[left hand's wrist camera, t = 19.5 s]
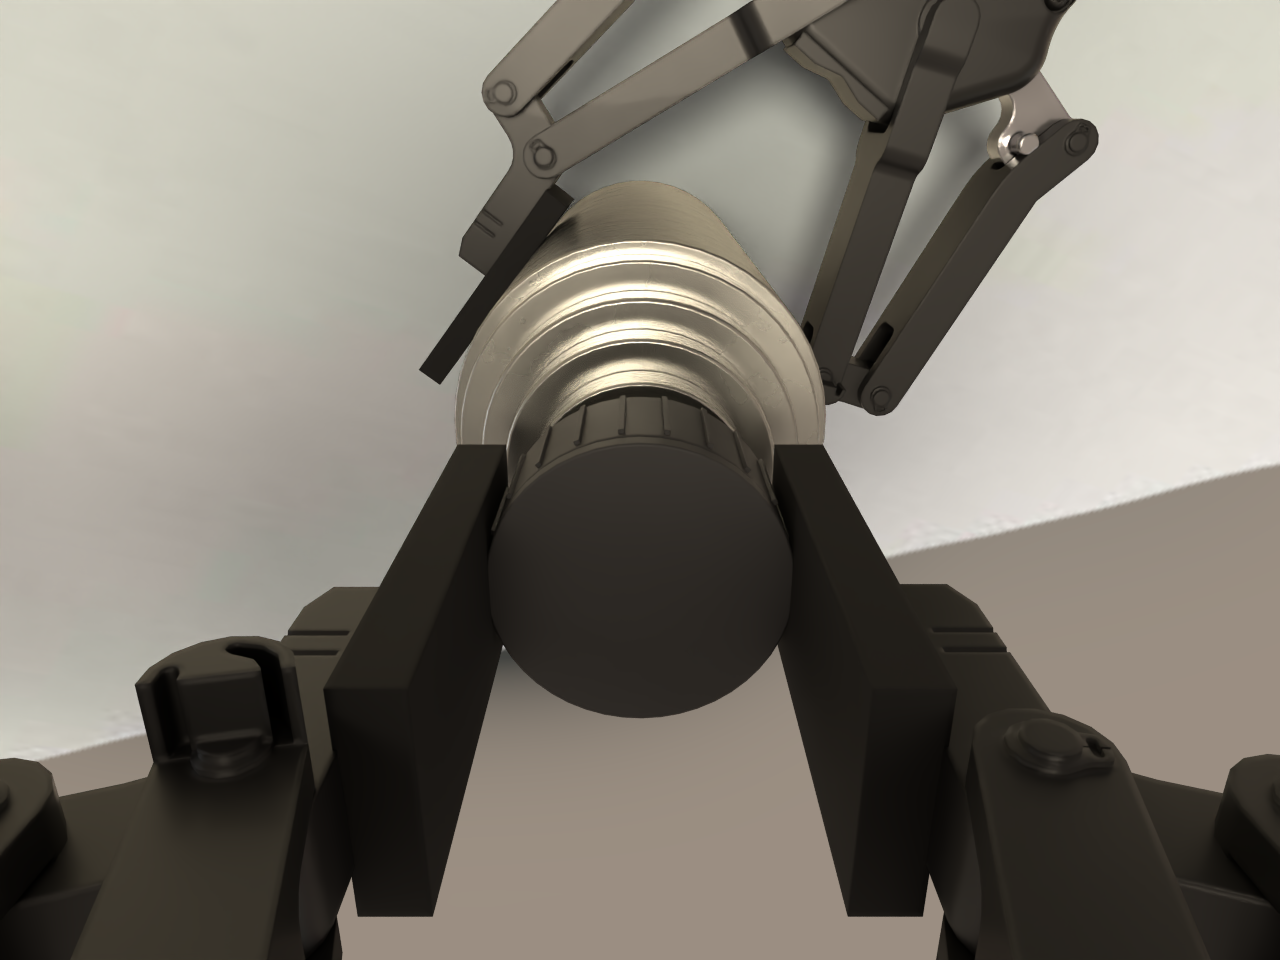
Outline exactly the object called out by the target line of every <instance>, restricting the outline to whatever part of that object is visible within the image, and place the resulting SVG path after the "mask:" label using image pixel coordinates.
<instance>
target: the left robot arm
mask: <svg viewBox="0 0 1280 960" xmlns="http://www.w3.org/2000/svg"><path fill="white" fill-rule="evenodd" d="M506 487H509V484H508V466H507V449H506V444H458V445H457V447H456V449H455V451H454V452H453V454H452V456H451V458H450V460H449V461H448V463H447V465H446V467H445V469H444V471H443V472H442V474H441V476H440V478H439V480H438V481H437V483H436V485H435V487H434V489H433V490H432V492H431V494H430V496H429V498H428V500H427V501H426V503H425V505H424V507H423V509H422V510H421V512H420V514H419V516H418V518H417V519H416V521H415V523H414V525H413V527H412V529H411V530H410V532H409V534H408V536H407V538H406V539H405V541H404V543H403V545H402V547H401V548H400V550H399V552H398V554H397V556H396V558H395V559H394V561H393V563H392V565H391V567H390V568H389V570H388V572H387V574H386V576H385V578H384V579H383V581H382V583H381V585H380V587H333V588H332V589H330V590H329V591H327V592H326V593H324V594H323V595H322V596H320V597H319V598H317V599H316V600H314V601H313V602H311V603H310V604H308V605H307V606H305V607H304V608H303V610H302V611H301V612H300V614H299V615H298V617H297V618H296V620H295V621H294V623H293V624H292V626H291V627H290V629H289V630H288V636H284V637H283V639H282V640H281V642H280V641H276V640H272V639H268V638H264V637H259V636H232V637H226V638H221V639H216V640H211V641H205V642H201V643H198V644H195V645H193V646H190V647H188V648H185V649H182V650H180V651H177V652H174V653H172V654H170V655H169V656H167V657H166V658H164V659H163V660H161V661H159V662H158V663H156V664H155V665H153V666H151V667H150V668H149V669H148V670H147V671H146V672H145V673H144V675H143V676H142V677H141V678H140V679H139V680H138V681H137V683H136V684H135V688H136V692H137V696H138V700H139V704H140V708H141V712H142V717H143V721H144V725H145V729H146V733H147V737H148V741H149V745H150V749H151V754H152V758H153V762H154V763H153V765H152V768H151V770H150V772H149V775H148V777H146V778H142V779H139V780H135V781H132V782H128V783H124V784H119V785H114V786H110V787H105V788H100V789H95V790H90V791H86V792H81V793H76V794H71V795H66V796H62V797H59V796H58V793H57V789H56V786H55V783H54V779H53V776H52V773H51V772H50V771H49V770H47V769H46V768H45V767H44V766H42V765H41V764H40V763H39V762H35V761H29V760H24V759H18V758H8V759H0V960H342V946H341V940H340V933H339V927H338V921H337V914H338V911H339V909H340V906H341V903H342V901H343V898H344V895H345V892H346V890H347V887H348V885H349V882H350V879H351V877H352V882H353V889H354V895H355V902H356V908H357V914H358V917H432V916H433V913H434V910H435V906H436V902H437V898H438V894H439V890H440V886H441V883H442V879H443V875H444V871H445V867H446V863H447V859H448V856H449V852H450V848H451V844H452V840H453V836H454V832H455V828H456V824H457V821H458V816H459V813H460V809H461V805H462V801H463V797H464V794H465V790H466V786H467V782H468V778H469V774H470V770H471V766H472V763H473V759H474V755H475V751H476V747H477V743H478V739H479V735H480V732H481V728H482V724H483V720H484V716H485V712H486V708H487V704H488V701H489V697H490V693H491V689H492V685H493V681H494V677H495V673H496V669H497V666H498V662H499V658H500V654H501V650H502V646H503V644H502V642H501V640H500V638H499V636H498V634H497V632H496V630H495V627H494V625H493V622H492V618H491V606H490V592H489V577H488V561H487V555H488V551H489V548H490V545H491V541H492V538H493V536H492V535H491V529H492V526H493V523H494V520H495V518H496V515H497V512H498V509H499V506H500V504H501V501H502V498H503V495H504V492H505V490H506ZM772 487H773V490H774V493H775V495H776V498H777V501H778V507H779V510H780V513H781V516H782V518H783V521H784V524H785V527H786V530H787V533H788V536H789V543H790V546H791V549H792V553H793V571H792V585H791V600H790V613H789V621H788V624H787V626H786V628H785V631H784V633H783V635H782V637H781V639H780V641H779V643H778V648H779V652H780V656H781V660H782V664H783V667H784V671H785V675H786V679H787V683H788V687H789V691H790V694H791V698H792V702H793V706H794V710H795V714H796V718H797V721H798V726H799V729H800V733H801V737H802V741H803V745H804V749H805V753H806V757H807V760H808V764H809V768H810V772H811V776H812V780H813V784H814V788H815V791H816V795H817V799H818V803H819V807H820V810H821V814H822V818H823V822H824V826H825V830H826V834H827V837H828V842H829V846H830V849H831V853H832V857H833V861H834V865H835V869H836V873H837V877H838V880H839V884H840V888H841V892H842V896H843V900H844V904H845V907H846V911H847V915H848V917H922V916H923V912H924V905H925V899H926V892H927V886H928V879H929V873H930V876H931V879H932V881H933V884H934V887H935V889H936V892H937V894H938V897H939V900H940V902H941V905H942V907H943V910H944V915H943V921H942V928H941V933H940V940H939V946H938V952H937V958H936V960H1280V755H1272V754H1265V755H1259V756H1254V757H1247V758H1243V759H1242V760H1241V761H1240V762H1238V763H1237V764H1236V765H1235V766H1234V767H1232V768H1231V769H1230V772H1229V775H1228V778H1227V782H1226V785H1225V789H1224V792H1223V793H1218V792H1214V791H1209V790H1204V789H1199V788H1194V787H1190V786H1185V785H1180V784H1175V783H1170V782H1165V781H1160V780H1156V779H1153V778H1149V777H1145V776H1141V775H1138V774H1134V773H1131V771H1130V768H1129V766H1128V764H1127V761H1126V760H1125V759H1124V757H1123V756H1122V754H1121V753H1120V752H1119V750H1118V749H1117V748H1116V746H1115V745H1114V744H1113V743H1112V742H1111V741H1110V740H1108V739H1107V738H1106V737H1104V736H1103V735H1101V734H1100V733H1099V732H1097V731H1096V730H1095V729H1093V728H1092V727H1090V726H1088V725H1086V724H1083V723H1081V722H1079V721H1076V720H1074V719H1072V718H1069V717H1067V716H1065V715H1062V714H1057V713H1052V712H1051V711H1050V710H1049V708H1048V707H1047V706H1046V704H1045V703H1044V701H1043V700H1042V698H1041V697H1040V695H1039V694H1038V692H1037V691H1036V689H1035V688H1034V687H1033V685H1032V684H1031V682H1030V681H1029V679H1028V678H1027V676H1026V675H1025V674H1024V672H1023V671H1022V669H1021V668H1020V666H1019V665H1018V663H1017V662H1016V660H1015V659H1014V657H1013V656H1012V655H1011V653H1010V652H1007V650H1006V648H1007V647H1006V646H1005V644H1004V643H1003V641H1002V640H1001V639H1000V637H999V636H998V634H997V633H993V627H992V625H991V624H990V623H989V621H988V620H987V618H986V617H985V615H984V614H983V612H982V611H981V610H980V608H979V606H978V605H977V604H976V603H974V602H973V601H971V600H970V599H968V598H967V597H965V596H964V595H962V594H961V593H959V592H958V591H956V590H955V589H953V588H952V587H950V586H949V585H947V584H899V582H898V580H897V578H896V576H895V575H894V573H893V571H892V569H891V567H890V566H889V564H888V562H887V560H886V558H885V556H884V555H883V553H882V551H881V549H880V547H879V546H878V544H877V542H876V540H875V538H874V537H873V535H872V533H871V531H870V529H869V527H868V526H867V524H866V522H865V520H864V518H863V517H862V515H861V513H860V511H859V509H858V508H857V506H856V504H855V502H854V500H853V498H852V497H851V495H850V493H849V491H848V489H847V488H846V486H845V484H844V482H843V480H842V479H841V477H840V475H839V473H838V471H837V469H836V468H835V466H834V464H833V462H832V460H831V459H830V457H829V455H828V453H827V451H826V450H825V448H824V446H823V444H774V459H773V476H772Z"/></svg>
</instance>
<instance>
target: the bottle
mask: <svg viewBox="0 0 1280 960" xmlns="http://www.w3.org/2000/svg"><path fill="white" fill-rule="evenodd" d="M621 395H626V398H630V397H651V398H661V399H662V396H666V397H667V398H668V400H672V401H677V402H680V403H683V404H686V405H689V406H693V407H695V408H697V409H699V410H701V408H704V409H706V410H707V413H708V414H710V415H711V416H713V417H715V418H716V419H718V420H719V421H721V422H722V423H724V424H725V425H727V426H728V427H729V428H730V429H731V430H733V431H735V430H736V429H737V430H738V431H739V432H740V435H741V438H742V440H743V441H744V442H745V443H746V444H747V445H748V447H749V448H750V449H751V451H752V452H753V453H754V455H755V456H756V458H757V459H758V460H760V459H762V460H763V462H764V465H765V467H766V470H767V473H768V476H769V479H770V481H771V484H772V476H773V459H774V444H823V442H824V436H825V419H826V410H825V397H824V389H823V384H822V380H821V375H820V370H819V367H818V364H817V361H816V359H815V356H814V353H813V351H812V348H811V345H810V343H809V342H808V340H807V338H806V336H805V334H804V332H803V330H802V329H801V327H800V325H799V323H798V322H797V321H796V319H795V318H794V317H793V315H792V314H791V313H790V311H789V310H788V308H787V307H786V306H785V304H784V303H783V302H782V300H781V299H780V298H779V296H778V295H777V294H776V293H775V291H774V290H773V289H772V287H771V286H770V285H769V283H768V282H767V281H766V279H765V278H764V277H763V276H762V274H761V273H760V272H759V270H758V269H757V268H756V266H755V265H754V264H753V262H752V261H751V260H750V258H749V257H748V256H747V255H746V253H745V252H744V251H743V249H742V248H741V247H740V245H739V244H738V243H737V241H736V240H735V239H734V237H733V236H732V235H731V234H730V232H729V231H728V230H727V228H726V227H725V226H724V224H723V223H722V222H721V220H720V219H719V218H718V217H717V216H716V215H715V214H714V212H713V211H712V210H711V209H710V208H709V207H708V206H706V205H705V204H704V203H702V202H701V201H700V200H699V199H697V198H696V197H694V196H692V195H691V194H689V193H687V192H685V191H683V190H681V189H678V188H676V187H673V186H670V185H666V184H662V183H658V182H650V181H629V182H623V183H617V184H613V185H610V186H607V187H604V188H602V189H599V190H597V191H595V192H593V193H591V194H589V195H588V196H586V197H584V198H583V199H581V200H580V201H579V202H577V203H576V204H575V205H574V206H573V207H571V208H570V209H569V210H568V211H567V212H566V213H565V215H564V216H563V217H562V218H561V219H560V220H559V221H558V223H557V224H556V225H555V227H554V228H553V229H552V231H551V232H550V233H549V235H548V236H547V237H546V239H545V240H544V241H543V243H542V244H541V245H540V247H539V248H538V249H537V250H536V252H535V253H534V254H533V256H532V257H531V258H530V260H529V261H528V262H527V264H526V265H525V266H524V267H523V269H522V270H521V271H520V273H519V274H518V275H517V277H516V278H515V279H514V281H513V282H512V283H511V285H510V286H509V287H508V289H507V290H506V291H505V292H504V294H503V295H502V296H501V298H500V299H499V300H498V302H497V303H496V304H495V306H494V307H493V308H492V310H491V311H490V313H489V314H488V315H487V317H486V318H485V320H484V321H483V323H482V324H481V326H480V327H479V329H478V330H477V332H476V334H475V336H474V338H473V340H472V342H471V344H470V346H469V348H468V351H467V353H466V356H465V359H464V362H463V365H462V368H461V371H460V375H459V380H458V386H457V391H456V397H455V419H454V421H455V431H456V441H457V445H458V444H506V449H507V466H508V484H509V487H510V484H511V482H512V479H513V476H514V473H515V470H516V467H517V464H518V461H519V459H520V456H521V455H522V453H524V454H525V455H526V454H527V452H528V451H529V450H530V448H531V447H532V446H533V445H534V444H535V443H536V442H537V440H538V439H539V438H540V437H541V436H542V435H543V434H544V433H545V429H546V427H548V426H549V425H550V426H551V427H552V426H554V425H555V424H557V423H558V422H560V421H561V420H563V419H564V418H566V417H567V416H569V415H571V414H573V413H575V412H577V411H579V410H580V407H581V406H583V405H585V406H586V407H588V406H591V405H594V404H597V403H600V402H604V401H609V400H614V399H619V398H620V396H621Z"/></svg>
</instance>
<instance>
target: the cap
mask: <svg viewBox="0 0 1280 960" xmlns="http://www.w3.org/2000/svg"><path fill="white" fill-rule="evenodd" d="M491 535H492V536H493V538H492V541H491V545H490V548H489V551H488V555H487V561H488V577H489V592H490V606H491V618H492V622H493V625H494V627H495V630H496V632H497V634H498V636H499V638H500V640H501V642H502V644H503V645H504V647H505V648H506V650H507V651H508V653H509V654H510V656H511V657H512V658H513V660H514V661H515V662H516V663H517V664H518V665H519V667H520V668H521V669H522V670H523V671H524V672H525V673H526V674H527V675H528V676H529V677H531V678H532V679H533V680H534V681H535V682H536V683H537V684H539V685H540V686H542V687H543V688H544V689H546V690H547V691H549V692H550V693H552V694H553V695H555V696H557V697H559V698H561V699H563V700H565V701H566V702H568V703H571V704H573V705H576V706H578V707H581V708H583V709H586V710H590V711H593V712H597V713H601V714H604V715H611V716H617V717H626V718H653V717H663V716H670V715H675V714H680V713H684V712H687V711H691V710H694V709H698V708H700V707H702V706H705V705H707V704H710V703H712V702H714V701H716V700H718V699H720V698H722V697H723V696H725V695H727V694H729V693H730V692H732V691H733V690H735V689H736V688H737V687H739V686H740V685H742V684H743V683H744V682H746V681H747V680H748V679H749V678H750V677H751V676H752V675H753V674H754V673H755V672H756V671H758V670H759V669H760V667H761V666H762V665H763V664H764V663H765V661H766V660H767V659H768V658H769V656H770V655H771V654H772V652H773V651H774V649H775V647H776V646H777V644H778V643H779V641H780V639H781V637H782V635H783V633H784V631H785V628H786V626H787V624H788V621H789V613H790V600H791V585H792V571H793V553H792V549H791V546H790V543H789V536H788V533H787V530H786V527H785V524H784V521H783V518H782V516H781V513H780V510H779V507H778V501H777V498H776V495H775V493H774V490H773V487H772V484H771V481H770V479H769V476H768V473H767V470H766V467H765V465H764V462H763V460H762V459H760V460H758V459H757V458H756V456H755V455H754V453H753V452H752V451H751V449H750V448H749V447H748V445H747V444H746V443H745V442H744V441H743V440H742V438H741V435H740V432H739V431H738V430H737V429H736V430H735V431H733V430H731V429H730V428H729V427H728V426H727V425H725V424H724V423H722V422H721V421H719V420H718V419H716V418H715V417H713V416H711V415H710V414H708V413H707V410H706V409H704V408H701V410H699V409H697V408H695V407H693V406H689V405H686V404H683V403H680V402H677V401H672V400H668V398H667V397H666V396H662V399H661V398H651V397H630V398H626V395H621V396H620V398H619V399H614V400H609V401H604V402H600V403H597V404H594V405H591V406H588V407H586V406H585V405H583V406H581V407H580V410H579V411H577V412H575V413H573V414H571V415H569V416H567V417H566V418H564V419H563V420H561V421H560V422H558V423H557V424H555V425H554V426H552V427H551V426H550V425H549V426H548V427H546V429H545V433H544V434H543V435H542V436H541V437H540V438H539V439H538V440H537V442H536V443H535V444H534V445H533V446H532V447H531V448H530V450H529V451H528V452H527V454H526V455H525V454H524V453H522V455H521V456H520V459H519V461H518V464H517V467H516V470H515V473H514V476H513V479H512V482H511V484H510V487H506V490H505V492H504V495H503V498H502V501H501V504H500V506H499V509H498V512H497V515H496V518H495V520H494V523H493V526H492V529H491Z"/></svg>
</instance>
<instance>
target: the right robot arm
mask: <svg viewBox="0 0 1280 960" xmlns="http://www.w3.org/2000/svg"><path fill="white" fill-rule="evenodd" d="M634 1H635V0H557V1H556V2H555V3H554V4H553V5H552V6H551V7H550V8H549V10H548V11H547V12H546V13H545V14H544V15H543V16H542V17H541V18H540V19H539V20H538V21H537V23H536V24H535V25H534V26H533V27H532V28H531V29H530V30H529V31H528V32H527V33H526V34H525V36H524V37H523V38H522V39H521V40H520V41H519V42H518V43H517V44H516V45H515V46H514V47H513V49H512V50H511V51H510V52H509V53H508V54H507V55H506V56H505V57H504V58H503V59H502V60H501V62H500V63H499V64H498V65H497V66H496V67H495V68H494V69H493V70H492V71H491V72H490V73H489V75H488V76H487V78H486V79H485V81H484V82H483V87H482V96H483V101H484V103H485V104H486V106H487V108H488V109H489V110H490V111H491V112H493V113H494V115H495V117H496V118H497V120H498V121H499V123H500V124H501V126H502V128H503V129H504V131H505V132H506V134H507V135H508V137H509V139H510V141H511V143H512V148H513V161H512V165H511V167H510V169H509V171H508V172H507V174H506V175H505V177H504V178H503V180H502V181H501V182H500V184H499V185H498V187H497V188H496V190H495V191H494V193H493V194H492V196H491V197H490V198H489V200H488V201H487V203H486V204H485V206H484V207H483V209H482V210H481V212H480V213H479V214H478V216H477V217H476V219H475V221H474V222H473V223H472V225H471V226H470V228H469V229H468V231H467V232H466V233H465V235H464V236H463V238H462V243H461V248H460V252H459V256H460V257H461V258H462V259H464V260H465V261H466V262H468V263H469V264H470V265H472V266H473V267H474V268H476V269H477V270H478V271H480V272H481V273H482V274H484V275H485V277H484V278H483V280H482V281H481V283H480V284H479V285H478V287H477V288H476V290H475V291H474V293H473V294H472V295H471V297H470V298H469V300H468V301H467V302H466V304H465V305H464V307H463V308H462V310H461V311H460V312H459V314H458V315H457V317H456V318H455V319H454V321H453V322H452V324H451V325H450V327H449V328H448V329H447V331H446V332H445V334H444V335H443V336H442V338H441V339H440V341H439V342H438V344H437V345H436V346H435V348H434V349H433V351H432V352H431V353H430V355H429V356H428V358H427V359H426V361H425V362H424V363H423V365H422V366H421V368H420V369H419V370H420V371H421V372H423V373H424V374H425V375H427V376H428V377H430V378H431V379H433V380H434V381H435V382H437V383H438V384H441V383H442V381H443V380H444V379H445V377H446V376H447V375H448V373H449V372H450V371H451V369H452V368H453V366H454V365H455V364H456V362H457V361H458V360H459V358H460V357H461V355H462V354H463V353H464V351H465V350H466V349H467V347H468V346H469V344H470V343H471V342H472V340H473V338H474V336H475V334H476V332H477V330H478V329H479V327H480V326H481V324H482V323H483V321H484V320H485V318H486V317H487V315H488V314H489V313H490V311H491V310H492V308H493V307H494V306H495V304H496V303H497V302H498V300H499V299H500V298H501V296H502V295H503V294H504V292H505V291H506V290H507V289H508V287H509V286H510V285H511V283H512V282H513V281H514V279H515V278H516V277H517V275H518V274H519V273H520V271H521V270H522V269H523V267H524V266H525V265H526V264H527V262H528V261H529V260H530V258H531V257H532V256H533V254H534V253H535V252H536V250H537V249H538V248H539V247H540V245H541V244H542V243H543V241H544V240H545V239H546V237H547V236H548V235H549V233H550V232H551V230H552V229H553V228H554V226H555V225H556V223H557V222H558V221H559V219H560V218H561V216H562V215H563V214H564V212H565V211H566V210H567V208H568V207H569V205H570V204H571V203H572V201H573V200H574V199H573V198H572V197H571V196H570V195H568V194H567V193H566V192H565V191H563V190H562V189H561V188H559V187H558V186H557V185H556V184H555V183H556V182H557V180H558V179H559V177H560V176H561V174H562V173H563V172H564V171H566V170H567V169H569V168H571V167H572V166H574V165H576V164H577V163H579V162H581V161H582V160H584V159H586V158H587V157H589V156H591V155H592V154H594V153H596V152H597V151H599V150H601V149H602V148H604V147H606V146H607V145H609V144H611V143H612V142H614V141H616V140H617V139H619V138H621V137H622V136H624V135H626V134H627V133H629V132H631V131H632V130H634V129H636V128H637V127H639V126H640V125H642V124H644V123H645V122H647V121H649V120H650V119H652V118H654V117H655V116H657V115H659V114H660V113H662V112H664V111H665V110H667V109H669V108H670V107H672V106H674V105H675V104H677V103H679V102H680V101H682V100H684V99H685V98H687V97H689V96H690V95H692V94H694V93H695V92H697V91H699V90H700V89H702V88H704V87H705V86H707V85H709V84H710V83H712V82H714V81H715V80H717V79H719V78H720V77H722V76H723V75H725V74H727V73H728V72H730V71H732V70H733V69H735V68H737V67H738V66H740V65H742V64H743V63H745V62H747V61H748V60H750V59H752V58H753V57H755V56H757V55H758V54H760V53H762V52H764V51H765V50H767V49H769V48H770V47H772V46H774V45H775V44H777V43H779V42H780V41H783V43H784V44H785V46H786V47H785V48H784V49H783V50H784V51H785V52H786V53H787V54H788V55H790V56H791V57H792V58H793V59H794V60H795V61H796V62H797V63H799V64H800V65H801V66H802V67H803V68H805V69H807V70H809V71H811V72H814V73H816V74H818V75H820V76H822V77H824V78H826V79H828V80H829V82H830V83H831V85H832V86H833V88H834V90H835V91H836V93H837V94H838V96H839V98H840V99H841V101H842V102H843V104H844V105H845V106H846V107H848V108H849V109H850V110H851V111H852V112H853V113H854V114H855V115H857V116H858V117H859V118H860V119H861V120H862V121H865V124H864V127H863V130H862V133H861V136H860V139H859V143H858V146H857V151H856V162H855V166H854V169H853V172H852V175H851V178H850V181H849V184H848V187H847V190H846V193H845V196H844V199H843V202H842V205H841V208H840V211H839V214H838V217H837V220H836V223H835V226H834V229H833V232H832V235H831V238H830V241H829V244H828V247H827V249H826V252H825V255H824V258H823V261H822V264H821V267H820V270H819V273H818V276H817V279H816V282H815V285H814V288H813V291H812V294H811V297H810V300H809V303H808V306H807V309H806V312H805V315H804V318H803V321H802V324H801V329H802V330H803V332H804V334H805V336H806V338H807V340H808V342H809V343H810V345H811V348H812V351H813V353H814V356H815V359H816V361H817V364H818V367H819V370H820V375H821V380H822V384H823V389H824V397H825V405H830V404H833V403H836V402H837V401H841V402H845V403H848V404H851V405H854V406H857V407H860V408H864V409H865V410H866V411H867V412H868V413H869V414H872V415H875V416H881V415H886V414H888V413H890V412H892V411H893V410H894V409H895V408H896V407H897V405H898V404H899V402H900V401H901V400H902V398H903V397H904V395H905V394H906V392H907V391H908V389H909V388H910V386H911V385H912V383H913V382H914V380H915V379H916V377H917V376H918V375H919V373H920V372H921V370H922V369H923V367H924V366H925V364H926V363H927V361H928V360H929V358H930V357H931V355H932V354H933V352H934V351H935V350H936V348H937V347H938V345H939V344H940V342H941V341H942V339H943V338H944V336H945V335H946V333H947V332H948V330H949V329H950V327H951V326H952V324H953V323H954V322H955V320H956V319H957V317H958V316H959V314H960V313H961V311H962V310H963V308H964V307H965V305H966V304H967V302H968V301H969V299H970V298H971V297H972V295H973V294H974V292H975V291H976V289H977V288H978V286H979V285H980V283H981V282H982V280H983V279H984V277H985V276H986V274H987V273H988V272H989V270H990V269H991V267H992V266H993V264H994V263H995V261H996V260H997V258H998V257H999V255H1000V254H1001V252H1002V251H1003V249H1004V248H1005V247H1006V245H1007V244H1008V242H1009V241H1010V239H1011V238H1012V236H1013V235H1014V233H1015V232H1016V230H1017V229H1018V227H1019V226H1020V224H1021V223H1022V222H1023V220H1024V219H1025V217H1026V216H1027V214H1028V213H1029V211H1030V210H1031V208H1032V207H1033V205H1034V204H1035V202H1036V201H1037V200H1038V199H1040V198H1041V197H1042V196H1043V195H1045V194H1046V193H1047V192H1048V191H1050V190H1051V189H1052V188H1053V187H1055V186H1056V185H1057V184H1058V183H1060V182H1061V181H1062V180H1063V179H1065V178H1066V177H1067V176H1068V175H1070V174H1071V173H1072V172H1073V171H1075V170H1076V169H1077V168H1078V167H1080V166H1081V165H1082V164H1083V163H1084V162H1086V161H1087V160H1088V159H1089V158H1090V157H1091V156H1092V155H1093V154H1094V152H1095V150H1096V148H1097V145H1098V137H1099V134H1098V132H1097V129H1096V127H1095V126H1094V125H1093V124H1092V123H1091V122H1090V121H1088V120H1084V119H1072V118H1071V117H1070V116H1069V115H1068V113H1067V112H1066V110H1065V109H1064V107H1063V106H1062V104H1061V102H1060V101H1059V99H1058V98H1057V96H1056V95H1055V93H1054V92H1053V90H1052V89H1051V87H1050V86H1049V84H1048V83H1047V81H1046V80H1045V78H1044V76H1043V75H1042V73H1041V72H1040V69H1041V68H1042V66H1043V64H1044V62H1045V59H1046V56H1047V53H1048V49H1049V45H1050V42H1051V39H1052V36H1053V34H1054V32H1055V29H1056V27H1057V25H1058V24H1059V22H1060V20H1061V19H1062V17H1063V16H1064V14H1065V13H1066V12H1067V10H1068V9H1069V8H1070V7H1071V6H1072V5H1073V4H1074V2H1075V1H1076V0H752V1H751V2H749V3H748V4H746V5H745V6H743V7H742V8H740V9H739V10H737V11H736V12H734V13H733V14H731V15H729V16H728V17H726V18H725V19H723V20H721V21H720V22H718V23H716V24H715V25H713V26H712V27H710V28H708V29H707V30H705V31H703V32H702V33H700V34H699V35H697V36H695V37H694V38H692V39H690V40H689V41H687V42H686V43H684V44H682V45H681V46H679V47H677V48H676V49H674V50H673V51H671V52H669V53H668V54H666V55H664V56H663V57H661V58H660V59H658V60H656V61H655V62H653V63H651V64H650V65H648V66H647V67H645V68H643V69H642V70H640V71H638V72H637V73H635V74H634V75H632V76H630V77H629V78H627V79H625V80H624V81H622V82H621V83H619V84H617V85H616V86H614V87H612V88H611V89H609V90H608V91H606V92H604V93H603V94H601V95H599V96H598V97H596V98H595V99H593V100H591V101H590V102H588V103H586V104H585V105H583V106H582V107H580V108H578V109H577V110H575V111H573V112H572V113H570V114H568V115H567V116H565V117H564V118H562V119H560V120H559V121H557V122H554V120H553V118H552V117H551V115H550V114H549V112H548V110H547V109H546V107H545V106H544V104H543V102H542V101H541V99H542V98H543V97H544V96H545V95H546V94H547V93H548V91H549V90H550V89H551V88H552V87H553V86H554V85H555V84H556V83H557V82H558V81H559V80H560V79H561V78H562V77H563V76H564V75H565V74H566V73H567V72H568V70H569V69H570V68H571V67H572V66H573V65H574V64H575V63H576V62H577V61H578V60H579V59H580V58H581V57H582V56H583V55H584V54H585V53H586V52H587V51H588V49H589V48H590V47H591V46H592V45H593V44H594V43H595V42H596V41H597V40H598V39H599V38H600V37H601V36H602V35H603V34H604V33H605V32H606V31H607V29H608V28H609V27H610V26H611V25H612V24H613V23H614V22H615V21H616V20H617V19H618V18H619V17H620V16H621V15H622V14H623V13H624V12H625V11H626V10H627V8H628V7H629V6H630V5H631V4H632V3H633V2H634ZM995 98H999V100H1000V102H1001V109H1002V110H1001V117H1000V119H999V121H998V123H997V125H996V126H995V127H994V129H993V130H992V131H991V133H990V134H989V137H988V139H987V152H988V154H989V156H990V158H989V159H988V160H987V161H986V162H985V163H984V164H983V165H982V166H981V167H980V168H979V169H978V171H977V172H976V173H975V174H974V175H973V176H972V178H971V179H970V180H969V182H968V183H967V185H966V186H965V187H964V189H963V190H962V192H961V193H960V195H959V196H958V198H957V199H956V201H955V203H954V204H953V206H952V207H951V209H950V210H949V212H948V213H947V215H946V216H945V218H944V219H943V221H942V223H941V224H940V226H939V227H938V229H937V230H936V232H935V233H934V235H933V236H932V238H931V240H930V241H929V243H928V244H927V246H926V247H925V249H924V250H923V252H922V253H921V255H920V257H919V258H918V260H917V261H916V263H915V264H914V266H913V267H912V269H911V270H910V272H909V273H908V275H907V277H906V278H905V280H904V281H903V283H902V284H901V286H900V287H899V289H898V290H897V292H896V294H895V295H894V297H893V298H892V300H891V301H890V303H889V304H888V306H887V307H886V309H885V311H884V312H883V314H882V315H881V317H880V318H879V320H878V321H877V323H876V324H875V326H874V327H873V329H872V331H871V332H870V334H869V335H868V337H867V338H866V340H865V341H864V343H863V344H862V346H861V348H860V349H859V351H858V352H857V354H856V355H855V357H853V356H851V355H852V353H853V350H854V347H855V344H856V342H857V339H858V336H859V333H860V330H861V328H862V325H863V322H864V319H865V317H866V314H867V311H868V308H869V305H870V303H871V300H872V297H873V294H874V292H875V289H876V286H877V283H878V280H879V278H880V275H881V272H882V269H883V267H884V264H885V261H886V258H887V256H888V253H889V250H890V247H891V244H892V242H893V239H894V236H895V233H896V231H897V228H898V225H899V222H900V219H901V217H902V214H903V211H904V208H905V206H906V203H907V200H908V197H909V194H910V192H911V189H912V186H913V183H914V181H915V179H916V177H917V175H918V174H919V173H920V172H921V170H922V169H923V167H924V166H925V164H926V162H927V159H928V157H929V154H930V152H931V149H932V146H933V143H934V141H935V138H936V135H937V132H938V130H939V127H940V124H941V121H942V119H943V116H944V114H946V113H949V112H952V111H956V110H959V109H962V108H965V107H969V106H972V105H975V104H979V103H982V102H985V101H989V100H992V99H995Z"/></svg>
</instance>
